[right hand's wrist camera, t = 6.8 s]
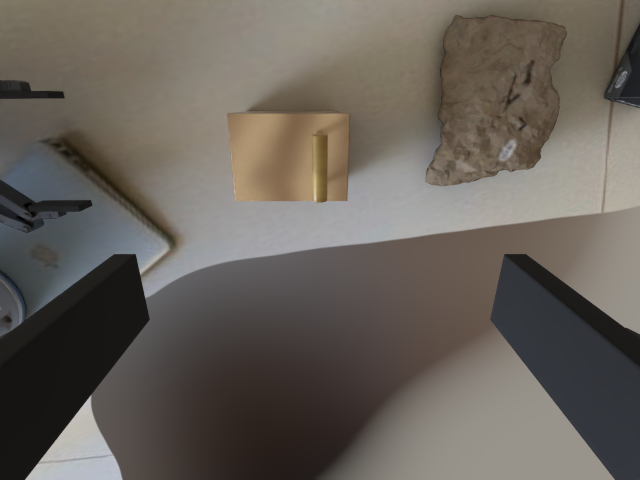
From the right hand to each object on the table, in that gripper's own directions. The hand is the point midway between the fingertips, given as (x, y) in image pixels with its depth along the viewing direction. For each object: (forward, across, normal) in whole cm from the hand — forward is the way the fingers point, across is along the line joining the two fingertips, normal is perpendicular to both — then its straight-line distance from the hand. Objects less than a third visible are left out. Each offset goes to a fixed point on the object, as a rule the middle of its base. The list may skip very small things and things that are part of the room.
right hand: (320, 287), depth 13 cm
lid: (+31, -4, 0) cm, 31 cm away
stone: (+41, +22, +6) cm, 47 cm away
